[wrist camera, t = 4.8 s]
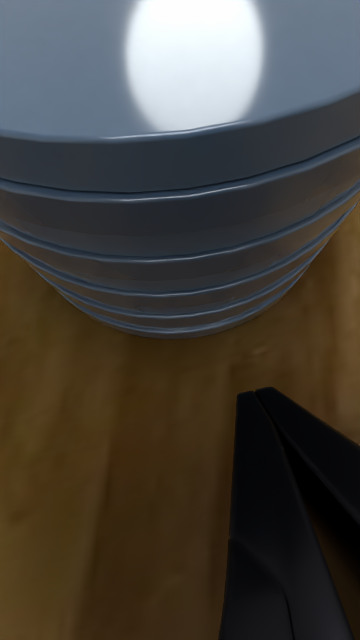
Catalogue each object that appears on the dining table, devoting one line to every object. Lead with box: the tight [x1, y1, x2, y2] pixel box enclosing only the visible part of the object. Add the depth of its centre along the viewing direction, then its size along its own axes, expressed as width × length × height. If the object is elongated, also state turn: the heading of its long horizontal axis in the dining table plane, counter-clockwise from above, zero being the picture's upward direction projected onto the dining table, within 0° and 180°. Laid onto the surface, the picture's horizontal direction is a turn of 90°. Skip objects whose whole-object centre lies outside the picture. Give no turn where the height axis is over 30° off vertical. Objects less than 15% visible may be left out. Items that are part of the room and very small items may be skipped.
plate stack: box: [0, 0, 360, 339], centre depth 13 cm, size 17×17×12 cm
